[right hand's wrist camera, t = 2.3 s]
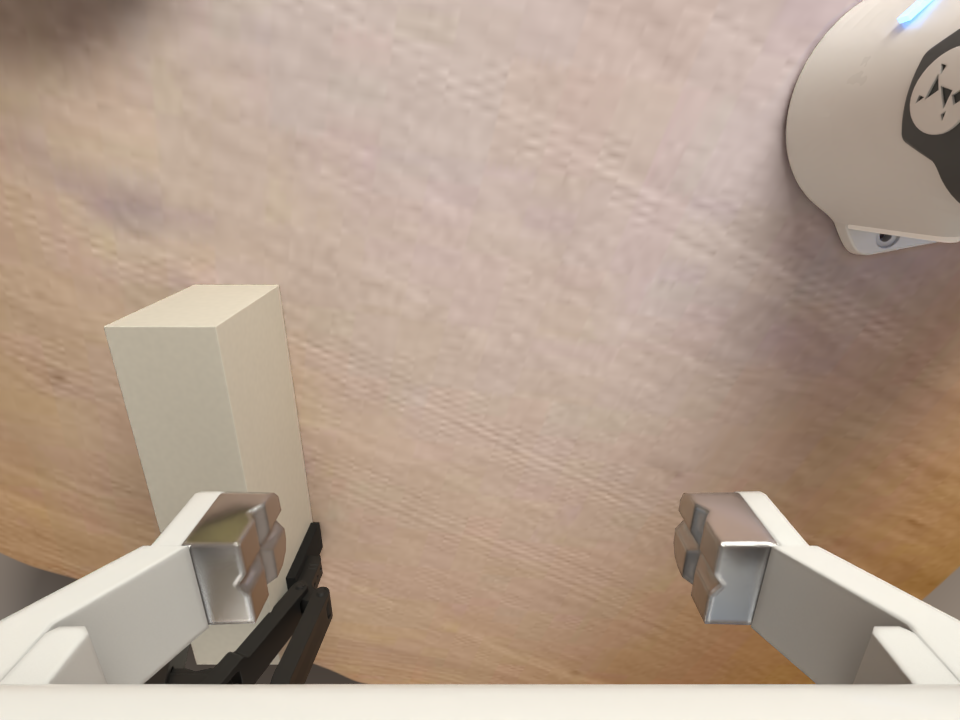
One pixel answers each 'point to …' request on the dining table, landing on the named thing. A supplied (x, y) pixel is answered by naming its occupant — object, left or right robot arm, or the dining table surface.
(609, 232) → the dining table surface
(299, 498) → the box
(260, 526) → the right robot arm
